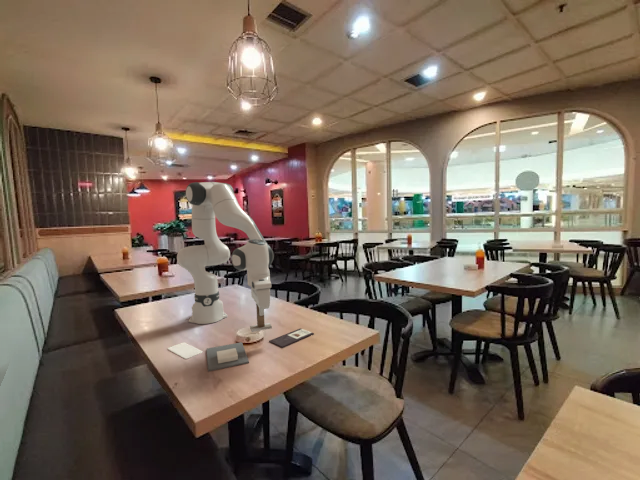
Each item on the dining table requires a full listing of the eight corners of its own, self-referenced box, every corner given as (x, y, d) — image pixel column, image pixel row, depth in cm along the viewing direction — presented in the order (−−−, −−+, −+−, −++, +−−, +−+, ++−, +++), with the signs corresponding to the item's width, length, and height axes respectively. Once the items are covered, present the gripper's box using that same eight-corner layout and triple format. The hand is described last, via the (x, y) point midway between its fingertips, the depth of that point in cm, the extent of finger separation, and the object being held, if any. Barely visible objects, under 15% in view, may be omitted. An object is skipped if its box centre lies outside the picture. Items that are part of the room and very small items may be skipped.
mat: (206, 349, 121) (206, 348, 121) (242, 343, 127) (242, 342, 127) (208, 371, 105) (208, 369, 105) (248, 362, 110) (248, 361, 110)
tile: (216, 351, 115) (217, 359, 108) (235, 348, 117) (237, 355, 111) (216, 355, 115) (218, 364, 108) (235, 352, 117) (238, 360, 111)
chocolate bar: (268, 340, 128) (300, 328, 141) (269, 342, 128) (300, 330, 141) (282, 346, 121) (313, 333, 134) (282, 349, 121) (314, 335, 134)
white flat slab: (185, 358, 114) (166, 348, 123) (186, 360, 114) (166, 350, 123) (203, 351, 120) (184, 341, 129) (203, 353, 120) (184, 343, 129)
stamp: (250, 328, 123) (249, 304, 122) (269, 325, 126) (268, 301, 125) (251, 331, 119) (250, 307, 118) (271, 328, 122) (270, 304, 121)
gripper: (246, 276, 129) (248, 307, 130) (255, 286, 110) (257, 323, 111) (261, 274, 131) (263, 305, 133) (272, 284, 113) (273, 320, 114)
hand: (260, 313), depth 122 cm, fingers closed on stamp, 2 cm apart
